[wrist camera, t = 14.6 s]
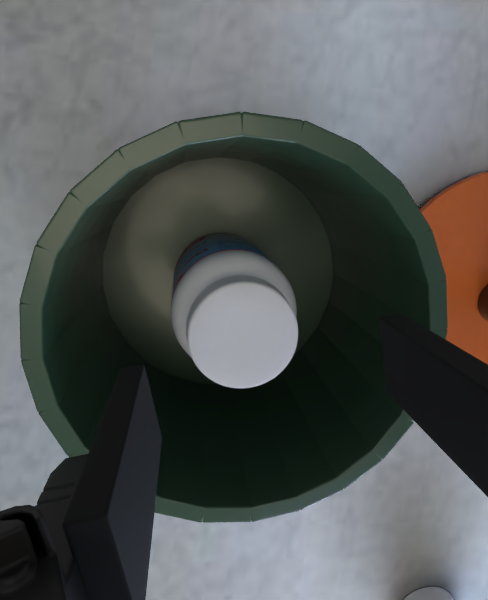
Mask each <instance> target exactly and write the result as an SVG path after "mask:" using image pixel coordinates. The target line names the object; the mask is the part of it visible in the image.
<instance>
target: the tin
mask: <svg viewBox="0 0 488 600" xmlns="http://www.w3.org/2000/svg"><path fill="white" fill-rule="evenodd" d="M430 228H431V227H430V225H429V224H428V222H427V221H426V219H425V217H424V216H423V214H422V213H421V211H420V210H419V208H418V207H417V205H416V203H415V202H414V200H413V199H412V197H411V196H410V194H409V193H408V191H407V189H406V188H405V186H404V185H403V184H402V182H401V181H400V180H399V179H398V178H397V177H396V176H395V175H393V174H392V173H391V172H390V171H389V170H388V169H386V168H385V167H384V166H383V165H382V164H381V163H379V162H378V161H377V160H376V159H375V158H374V157H373V156H371V155H370V154H369V153H368V152H367V151H366V150H364V149H363V148H362V147H361V146H358V144H356V143H354V142H352V141H350V140H347V139H345V138H343V137H341V136H338V135H336V134H334V133H332V132H330V131H327V130H325V129H323V128H321V127H319V126H316V125H314V124H312V123H310V122H307V121H302V120H300V119H292V118H285V117H278V116H270V115H263V114H256V113H249V112H242V113H241V112H235V113H228V114H222V115H215V116H208V117H201V118H195V119H188V120H181V121H179V122H174V123H172V124H170V125H168V126H165V127H163V128H161V129H159V130H157V131H155V132H152V133H150V134H148V135H146V136H144V137H142V138H139V139H137V140H135V141H133V142H131V143H129V144H126V145H124V146H122V147H120V148H119V150H116V151H114V152H113V153H112V154H111V155H110V156H109V157H108V158H106V159H105V160H104V161H103V162H102V163H101V164H100V165H98V166H97V167H96V168H95V169H94V170H93V171H92V172H90V173H89V174H88V175H87V176H86V177H85V178H83V179H82V180H81V181H80V182H79V183H78V184H77V185H75V186H74V187H73V188H72V189H71V190H70V192H69V193H68V194H67V195H66V197H65V198H64V200H63V202H62V203H61V205H60V206H59V208H58V210H57V211H56V213H55V214H54V216H53V217H52V219H51V221H50V222H49V224H48V225H47V227H46V228H45V230H44V232H43V233H42V235H41V236H40V238H39V239H38V241H37V245H35V248H34V251H33V255H32V258H31V262H30V265H29V269H28V273H27V276H26V280H25V283H24V287H23V291H22V294H21V298H20V302H21V303H20V304H19V305H20V347H21V359H22V360H21V362H22V365H23V368H24V371H25V375H26V378H27V381H28V384H29V387H30V390H31V393H32V396H33V399H34V402H35V405H36V408H37V411H38V412H39V415H40V416H41V418H42V419H43V421H44V422H45V423H46V425H47V426H48V428H49V429H50V431H51V432H52V434H53V435H54V437H55V438H56V440H57V441H58V443H59V444H60V445H61V447H62V448H63V450H64V451H65V453H66V454H67V455H69V458H70V457H75V456H80V455H84V454H89V451H90V448H91V446H92V443H93V440H94V438H95V435H96V432H97V430H98V427H99V424H100V422H101V419H102V416H103V413H104V411H105V408H106V405H107V403H108V400H109V397H110V395H111V392H112V389H113V387H114V384H115V381H116V379H117V376H118V373H119V370H120V368H125V367H131V366H136V365H141V364H144V365H145V369H146V374H147V378H148V382H149V386H150V390H151V394H152V399H153V403H154V407H155V411H156V415H157V419H158V424H159V428H160V432H161V436H162V443H161V452H160V462H159V472H158V481H157V491H156V500H155V510H154V512H155V513H159V514H164V515H169V516H173V517H178V518H182V519H187V520H192V521H196V522H202V521H203V522H251V521H252V522H254V521H258V520H263V519H267V518H271V517H276V516H280V515H284V514H288V513H293V512H297V511H299V509H300V510H302V509H304V508H306V507H309V506H311V505H313V504H315V503H317V502H319V501H321V500H323V499H325V498H328V497H330V496H332V495H334V494H336V493H338V492H340V491H342V490H343V488H344V489H346V488H347V487H348V486H349V485H351V484H352V483H353V482H355V481H356V480H357V479H358V478H360V477H361V476H362V475H364V474H365V473H366V472H368V471H369V470H370V469H371V468H373V467H374V466H375V465H377V464H378V463H379V462H381V461H382V459H384V458H385V457H386V455H387V454H388V453H389V452H390V451H391V449H392V448H393V447H394V446H395V445H396V443H397V442H398V441H399V440H400V439H401V437H402V436H403V435H404V434H405V433H406V431H407V430H408V429H409V428H410V427H411V425H412V424H413V422H414V420H413V419H412V418H411V417H410V416H409V415H408V414H407V413H406V412H405V411H404V410H403V409H402V408H401V407H400V406H399V404H398V403H397V402H396V401H395V400H394V399H393V398H392V397H391V396H390V395H389V394H388V393H387V392H386V390H385V377H384V364H383V350H382V337H381V324H380V318H381V317H386V316H391V315H397V314H403V315H405V316H407V317H409V318H410V319H412V320H414V321H415V322H417V323H419V324H420V325H422V326H424V327H425V328H427V329H429V330H430V331H432V332H434V333H435V334H437V335H439V336H441V337H442V338H444V339H446V336H447V332H448V331H447V328H448V318H447V281H446V274H445V271H444V267H443V264H442V261H441V257H440V254H439V251H438V247H437V244H436V241H435V237H434V234H433V231H432V229H430ZM214 233H229V234H235V235H238V236H241V237H243V238H245V239H247V240H249V241H250V242H252V243H253V244H254V245H255V246H256V247H257V248H258V249H259V250H260V251H261V252H263V253H264V254H265V255H266V256H267V257H268V258H269V259H270V260H271V261H272V262H273V263H274V264H275V265H276V266H277V267H278V268H279V269H280V270H281V271H282V273H283V274H284V275H285V277H286V278H287V279H288V281H289V283H290V285H291V287H292V289H293V292H294V295H295V299H296V306H297V315H296V319H297V324H298V341H297V347H296V350H295V352H294V355H293V357H292V359H291V360H290V362H289V364H288V365H287V366H286V368H285V369H284V370H283V371H282V372H281V373H280V374H279V375H277V376H276V377H275V378H273V379H272V380H270V381H268V382H266V383H264V384H262V385H259V386H255V387H251V388H231V387H226V386H223V385H220V384H218V383H215V382H214V381H212V380H210V379H209V378H208V377H206V376H205V375H204V374H203V373H202V372H201V371H200V370H199V369H198V367H197V366H196V365H195V363H194V361H193V359H192V358H191V357H190V356H189V355H188V354H187V353H186V352H185V350H184V349H183V348H182V346H181V345H180V343H179V342H178V340H177V338H176V335H175V333H174V330H173V326H172V320H171V302H172V290H173V279H174V272H175V267H176V264H177V261H178V259H179V257H180V256H181V254H182V252H183V251H184V250H185V249H186V248H187V247H188V245H190V244H191V243H192V242H193V241H195V240H196V239H198V238H200V237H203V236H205V235H209V234H214Z"/></svg>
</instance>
